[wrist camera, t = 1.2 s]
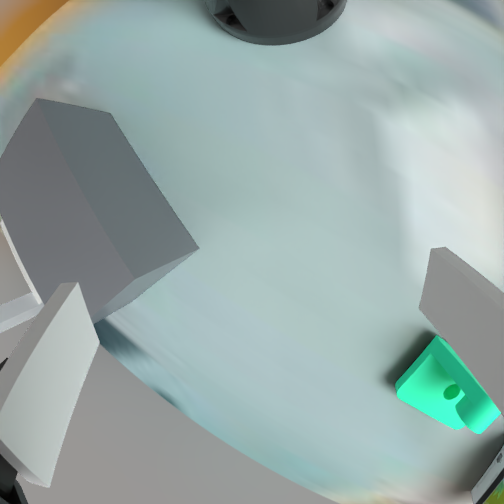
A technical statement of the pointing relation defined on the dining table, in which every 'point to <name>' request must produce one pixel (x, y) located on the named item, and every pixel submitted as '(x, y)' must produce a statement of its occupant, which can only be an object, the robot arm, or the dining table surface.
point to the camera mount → (446, 389)
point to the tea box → (491, 483)
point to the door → (24, 305)
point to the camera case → (86, 208)
